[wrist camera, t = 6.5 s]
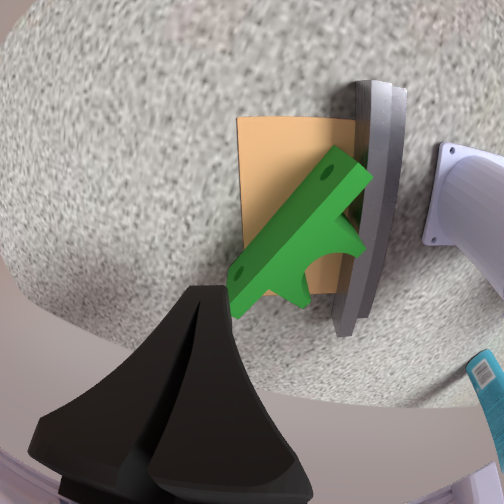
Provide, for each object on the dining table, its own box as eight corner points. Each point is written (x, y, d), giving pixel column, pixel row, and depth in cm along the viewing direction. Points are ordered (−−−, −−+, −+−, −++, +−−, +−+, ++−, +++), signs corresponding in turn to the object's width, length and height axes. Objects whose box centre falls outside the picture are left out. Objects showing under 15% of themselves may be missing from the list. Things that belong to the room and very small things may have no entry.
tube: (475, 371, 31) (512, 466, 14) (456, 377, 31) (492, 480, 15) (499, 339, 27) (548, 441, 11) (480, 344, 27) (530, 457, 11)
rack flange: (402, 88, 13) (422, 90, 11) (366, 312, 23) (374, 333, 21) (235, 76, 14) (231, 73, 12) (248, 318, 23) (247, 340, 21)
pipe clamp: (269, 291, 22) (271, 336, 18) (228, 267, 21) (221, 311, 17) (375, 181, 17) (405, 210, 13) (334, 143, 16) (358, 162, 12)
